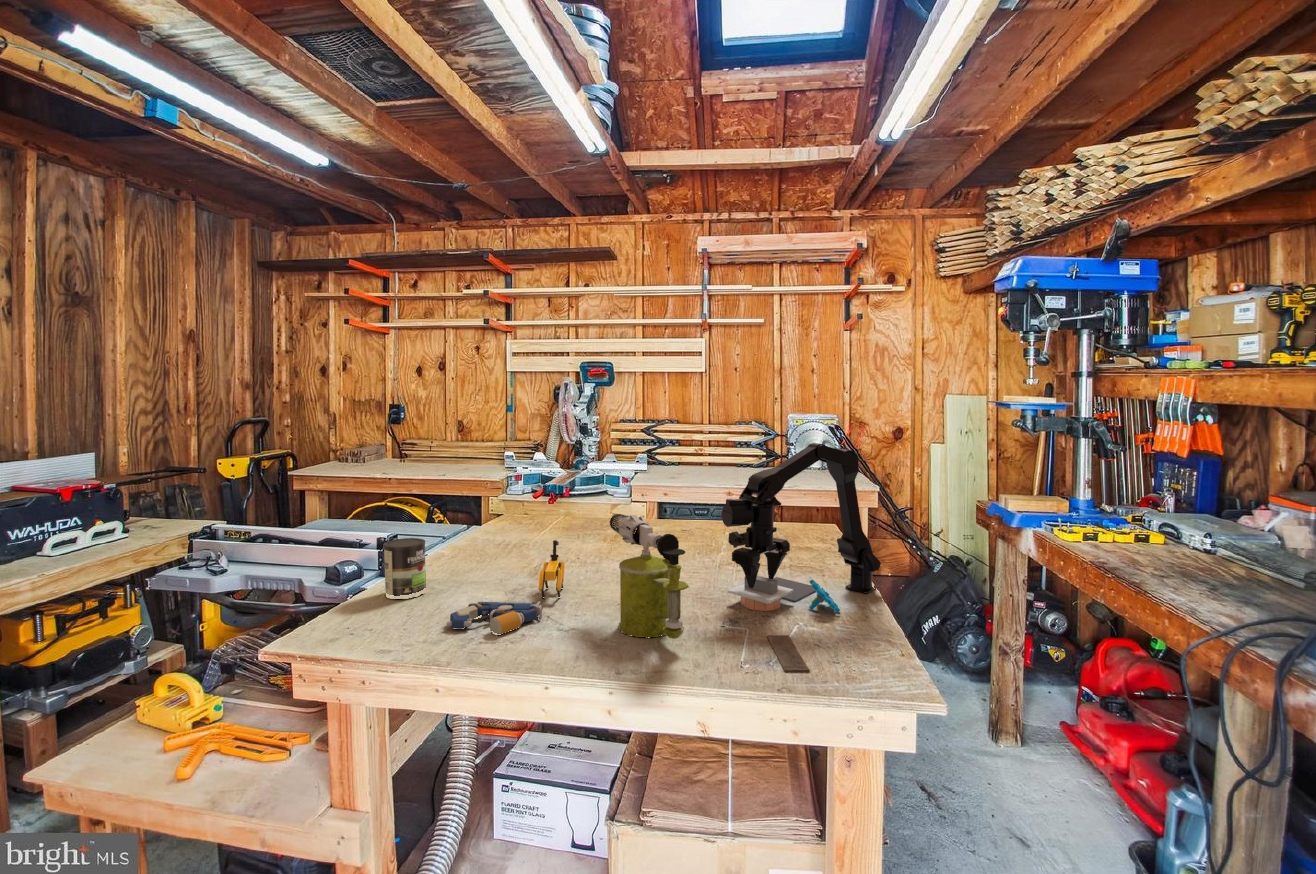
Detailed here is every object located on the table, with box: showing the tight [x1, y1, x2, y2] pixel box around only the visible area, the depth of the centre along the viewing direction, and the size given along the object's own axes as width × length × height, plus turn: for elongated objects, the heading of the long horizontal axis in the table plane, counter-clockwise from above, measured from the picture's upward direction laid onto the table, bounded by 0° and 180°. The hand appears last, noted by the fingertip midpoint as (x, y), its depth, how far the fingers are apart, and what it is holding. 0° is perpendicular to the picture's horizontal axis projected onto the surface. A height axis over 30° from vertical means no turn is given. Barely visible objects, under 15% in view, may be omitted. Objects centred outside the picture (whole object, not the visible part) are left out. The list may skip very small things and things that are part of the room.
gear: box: [808, 579, 841, 613], centre depth 145 cm, size 11×6×10 cm
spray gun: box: [446, 601, 543, 634], centre depth 136 cm, size 21×4×15 cm
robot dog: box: [538, 539, 566, 598], centre depth 158 cm, size 6×18×13 cm, turn 4°
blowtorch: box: [609, 513, 690, 640], centre depth 133 cm, size 13×33×25 cm, turn 28°
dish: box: [740, 596, 782, 612], centre depth 149 cm, size 10×10×3 cm
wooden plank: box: [766, 634, 811, 673], centre depth 121 cm, size 17×1×5 cm
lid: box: [727, 574, 793, 604], centre depth 149 cm, size 12×12×4 cm
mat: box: [773, 576, 817, 603], centre depth 160 cm, size 14×14×1 cm
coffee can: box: [383, 537, 427, 596], centre depth 156 cm, size 10×10×14 cm
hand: (761, 583), depth 149 cm, fingers open, 9 cm apart
